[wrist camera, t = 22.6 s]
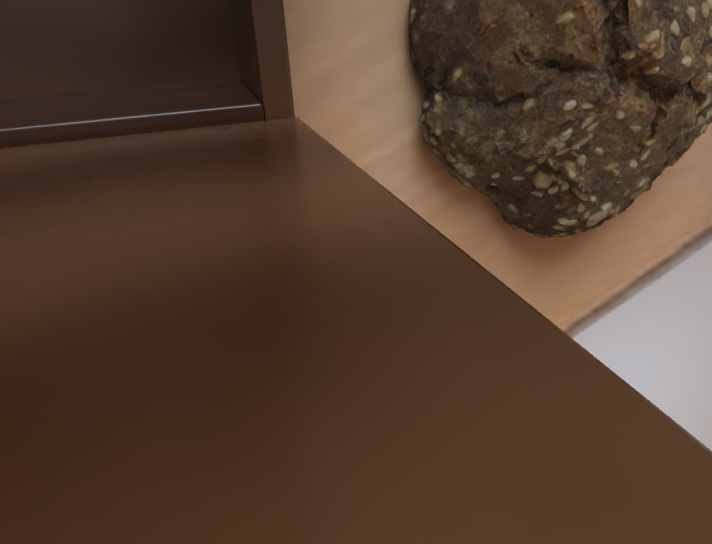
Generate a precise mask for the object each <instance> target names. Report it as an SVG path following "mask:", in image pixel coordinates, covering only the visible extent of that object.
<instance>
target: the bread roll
mask: <svg viewBox="0 0 712 544" xmlns="http://www.w3.org/2000/svg"><path fill="white" fill-rule="evenodd" d="M409 36H410V46H411V56H412V62H413V64H414V66H415V69H416V71H417V73H418V74H419V76H420V77H421V78H422V79H423V80H424V81H425V82H426V84H427V85H428V86H429V96H428V98H427V99H426V100H425V101H424V102H422V115H421V117H420V125H421V128H422V132H423V135H424V137H425V140H426V141H427V142H428V143H429V148H430V150H431V151H432V152H433V153H435V154H436V155H437V156H438V157H439V158H440V159H441V160H442V161H443V162H444V163H445V164H446V166H447V168H448V170H449V172H450V174H451V176H453V177H454V178H456V179H458V180H459V181H460V182H461V183H462V184H463V185H464V186H472V187H474V188H476V189H477V190H479V191H480V192H482V193H484V194H485V195H487V196H488V197H489V198H490V199H491V200H492V201H493V202H494V204H495V205H496V206H497V207H498V208H499V209H500V210H501V212H502V215H503V218H504V219H505V220H506V221H507V222H508V223H509V224H510V225H511V226H512V227H513V228H523V229H525V230H526V231H527V232H530V233H533V234H534V236H537V237H539V238H543V239H544V238H546V237H547V238H548V237H564V236H568V235H574V234H575V235H577V234H578V233H581V232H585V231H587V230H590V229H592V228H595V227H597V226H600V225H601V224H602V223H603V222H604V221H605V220H609V219H610V218H613V217H615V215H616V214H619V213H622V212H624V211H625V209H626V208H628V207H629V206H630V205H631V204H632V203H633V202H634V199H635V198H636V197H637V196H638V195H640V194H641V193H642V192H645V191H648V190H650V188H651V185H652V182H653V181H654V180H655V178H656V177H658V176H659V175H661V174H662V172H663V170H664V169H665V168H666V167H667V166H673V165H674V164H675V163H676V162H677V161H678V160H679V159H680V158H681V157H682V156H683V154H684V153H685V152H686V151H687V150H688V149H689V148H690V146H691V145H692V143H693V142H694V140H695V139H697V138H698V137H699V136H700V135H701V134H702V133H706V131H707V126H708V125H709V124H710V123H711V122H712V0H410V14H409Z"/></svg>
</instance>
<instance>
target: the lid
mask: <svg viewBox="0 0 712 544" xmlns="http://www.w3.org/2000/svg"><path fill="white" fill-rule="evenodd" d="M0 544H712V451H711V450H710V449H708V448H707V447H706V446H705V445H703V444H702V443H701V442H699V441H698V440H697V439H696V438H695V437H693V436H692V435H691V434H690V433H688V432H687V431H686V430H685V429H683V428H682V427H681V426H680V425H678V424H677V423H676V422H675V421H673V420H672V419H671V418H670V417H669V416H667V415H666V414H665V413H664V412H662V411H661V410H660V409H659V408H657V407H656V406H655V405H654V404H652V403H651V402H650V401H649V400H647V399H646V398H645V397H644V396H643V395H641V394H640V393H639V392H638V391H636V390H635V389H634V388H632V387H631V386H630V385H629V384H628V383H626V382H625V381H624V380H623V379H621V378H620V377H619V376H618V375H616V374H615V373H614V372H613V371H611V370H610V369H609V368H608V367H607V366H605V365H604V364H603V363H602V362H600V361H599V360H598V359H597V358H595V357H594V356H593V355H592V354H590V353H589V352H588V351H587V350H585V349H584V348H583V347H582V346H580V345H579V344H578V343H577V342H575V341H574V340H573V339H572V338H571V337H569V336H568V335H567V334H566V333H564V332H563V331H562V330H561V329H559V328H558V327H557V326H556V325H554V324H553V323H552V322H551V321H549V320H548V319H547V318H546V317H544V316H543V315H542V314H541V313H540V312H538V311H537V310H536V309H535V308H533V307H532V306H531V305H530V304H528V303H527V302H526V301H525V300H523V299H522V298H521V297H520V296H518V295H517V294H516V293H515V292H513V291H512V290H511V289H510V288H508V287H507V286H506V285H505V284H504V283H502V282H501V281H500V280H499V279H497V278H496V277H495V276H494V275H492V274H491V273H490V272H489V271H487V270H486V269H485V268H484V267H482V266H481V265H480V264H479V263H477V262H476V261H475V260H474V259H472V258H471V257H470V256H469V255H468V254H466V253H465V252H464V251H463V250H461V249H460V248H459V247H458V246H456V245H455V244H454V243H453V242H451V241H450V240H449V239H448V238H446V237H445V236H444V235H443V234H441V233H440V232H439V231H438V230H437V229H435V228H434V227H433V226H432V225H430V224H429V223H428V222H427V221H425V220H424V219H423V218H422V217H420V216H419V215H418V214H417V213H415V212H414V211H413V210H412V209H410V208H409V207H408V206H407V205H405V204H404V203H403V202H402V201H401V200H399V199H398V198H397V197H396V196H394V195H393V194H392V193H391V192H389V191H388V190H387V189H386V188H384V187H383V186H382V185H381V184H379V183H378V182H377V181H376V180H374V179H373V178H372V177H371V176H370V175H368V174H367V173H366V172H365V171H363V170H362V169H361V168H360V167H358V166H357V165H356V164H355V163H353V162H352V161H351V160H350V159H348V158H347V157H346V156H345V155H343V154H342V153H341V152H340V151H338V150H337V149H336V148H335V147H334V146H332V145H331V144H330V143H329V142H327V141H326V140H325V139H324V138H322V137H321V136H320V135H319V134H317V133H316V132H315V131H314V130H312V129H311V128H310V127H309V126H307V125H306V124H305V123H304V122H302V121H301V120H300V119H299V118H296V117H295V118H286V119H276V120H267V121H257V122H248V123H238V124H229V125H219V126H210V127H200V128H191V129H182V130H172V131H163V132H153V133H144V134H134V135H125V136H115V137H106V138H96V139H87V140H77V141H68V142H58V143H49V144H40V145H30V146H21V147H11V148H2V149H0Z"/></svg>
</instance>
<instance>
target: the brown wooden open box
mask: <svg viewBox="0 0 712 544" xmlns="http://www.w3.org/2000/svg"><path fill="white" fill-rule="evenodd" d="M286 118H295V115H294V106H293V96H292V86H291V76H290V66H289V56H288V46H287V36H286V26H285V16H284V6H283V0H0V149H2V148H11V147H21V146H30V145H40V144H49V143H58V142H68V141H77V140H87V139H96V138H106V137H115V136H125V135H134V134H144V133H153V132H163V131H172V130H182V129H191V128H200V127H210V126H219V125H229V124H238V123H248V122H257V121H267V120H276V119H286Z"/></svg>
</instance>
